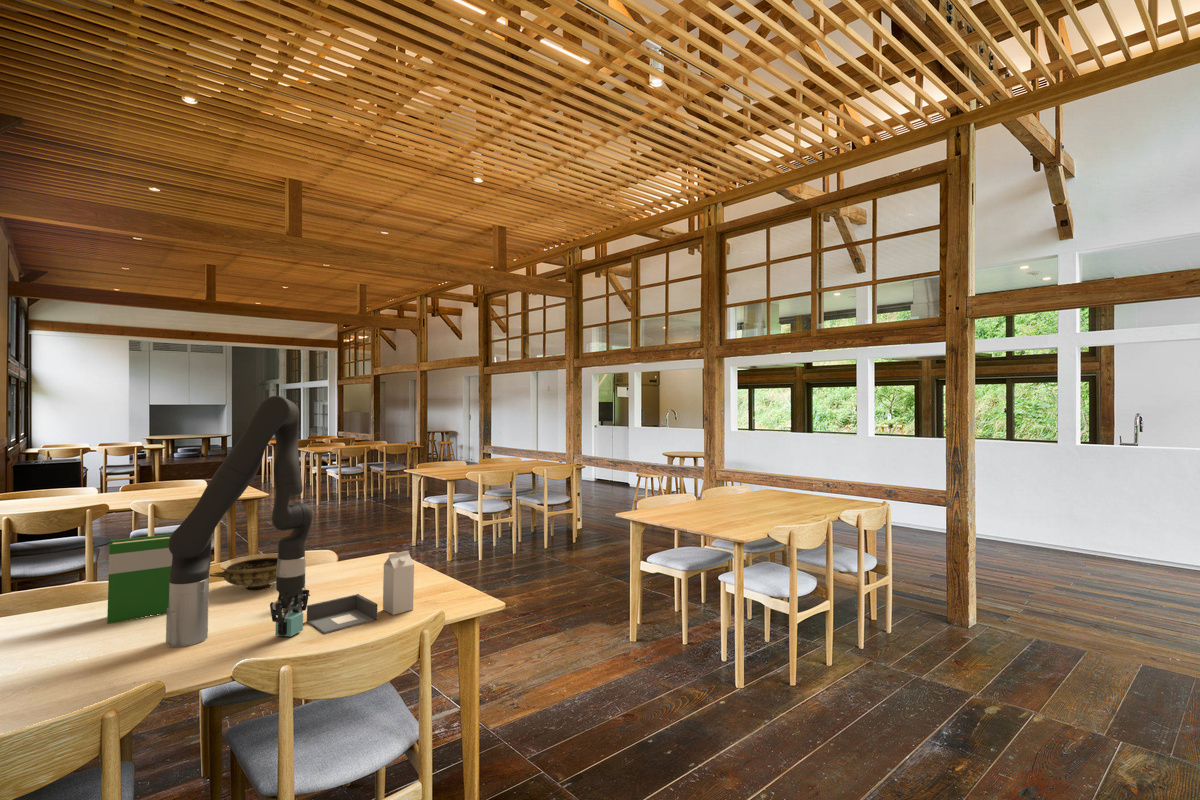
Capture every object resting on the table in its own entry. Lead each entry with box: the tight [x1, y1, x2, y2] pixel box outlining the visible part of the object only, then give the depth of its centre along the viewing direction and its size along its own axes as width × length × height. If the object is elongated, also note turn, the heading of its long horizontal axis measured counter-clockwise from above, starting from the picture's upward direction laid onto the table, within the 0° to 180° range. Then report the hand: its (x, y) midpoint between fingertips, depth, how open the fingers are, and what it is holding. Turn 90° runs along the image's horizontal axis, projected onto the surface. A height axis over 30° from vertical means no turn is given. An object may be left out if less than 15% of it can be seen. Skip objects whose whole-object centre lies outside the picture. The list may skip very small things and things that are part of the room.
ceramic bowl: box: [209, 552, 278, 592], centre depth 211 cm, size 30×24×10 cm
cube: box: [274, 611, 304, 637], centre depth 167 cm, size 5×5×5 cm
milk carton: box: [382, 550, 415, 615], centre depth 189 cm, size 7×7×19 cm
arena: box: [306, 593, 378, 635], centre depth 179 cm, size 16×14×5 cm
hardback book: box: [106, 533, 172, 625], centre depth 183 cm, size 18×7×24 cm, turn 130°
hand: (289, 630), depth 167 cm, fingers closed on cube, 5 cm apart
